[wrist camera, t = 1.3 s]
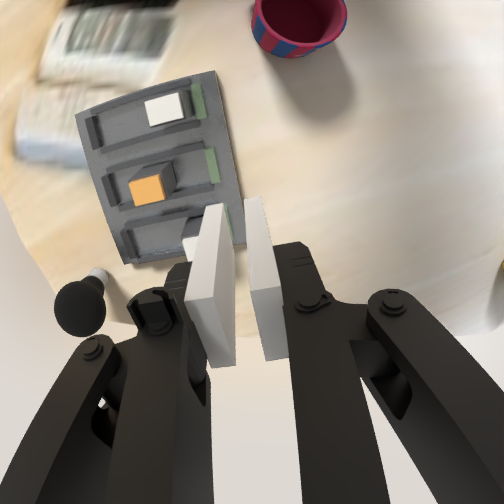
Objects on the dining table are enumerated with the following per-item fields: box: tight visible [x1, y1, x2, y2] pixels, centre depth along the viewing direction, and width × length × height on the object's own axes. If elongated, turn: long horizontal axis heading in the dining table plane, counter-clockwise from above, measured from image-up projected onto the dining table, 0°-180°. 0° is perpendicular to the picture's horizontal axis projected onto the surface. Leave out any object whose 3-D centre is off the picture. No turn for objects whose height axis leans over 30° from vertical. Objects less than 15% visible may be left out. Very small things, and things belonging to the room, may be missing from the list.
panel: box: [75, 70, 247, 264], centre depth 27 cm, size 17×14×2 cm
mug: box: [251, 0, 347, 58], centre depth 18 cm, size 7×10×7 cm
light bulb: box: [54, 268, 108, 337], centre depth 29 cm, size 6×6×10 cm
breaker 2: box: [180, 216, 203, 262], centre depth 28 cm, size 2×3×4 cm
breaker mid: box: [128, 161, 177, 206], centre depth 25 cm, size 2×3×4 cm
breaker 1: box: [144, 90, 194, 129], centre depth 22 cm, size 2×3×4 cm
